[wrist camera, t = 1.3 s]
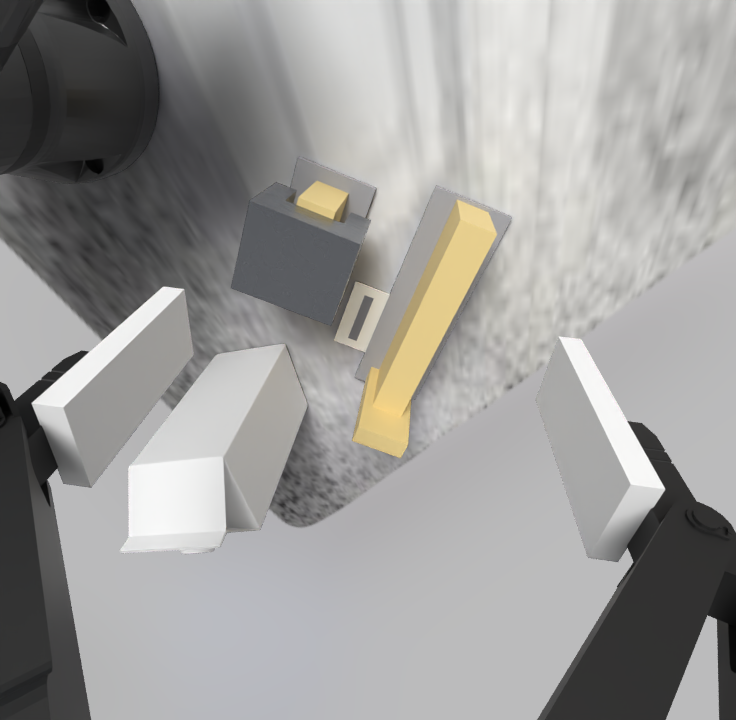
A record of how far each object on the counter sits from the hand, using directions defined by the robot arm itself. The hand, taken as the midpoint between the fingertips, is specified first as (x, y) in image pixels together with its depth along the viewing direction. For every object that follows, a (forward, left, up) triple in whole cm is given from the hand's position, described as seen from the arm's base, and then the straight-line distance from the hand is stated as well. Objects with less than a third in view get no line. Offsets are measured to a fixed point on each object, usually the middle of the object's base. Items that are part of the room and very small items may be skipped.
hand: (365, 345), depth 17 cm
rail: (+5, -7, -21) cm, 23 cm away
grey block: (-5, -4, -18) cm, 20 cm away
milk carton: (-6, -20, -22) cm, 30 cm away
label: (0, -10, -21) cm, 24 cm away
